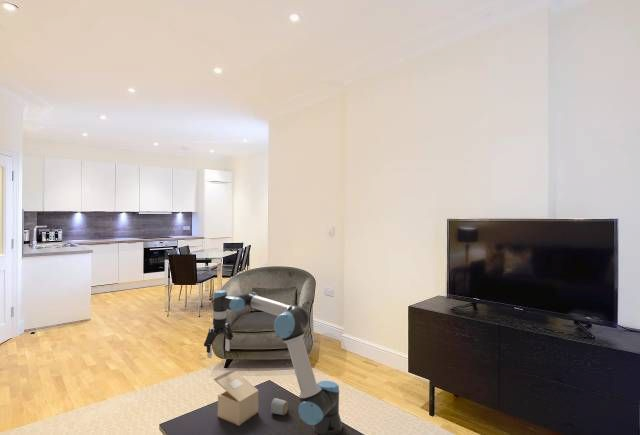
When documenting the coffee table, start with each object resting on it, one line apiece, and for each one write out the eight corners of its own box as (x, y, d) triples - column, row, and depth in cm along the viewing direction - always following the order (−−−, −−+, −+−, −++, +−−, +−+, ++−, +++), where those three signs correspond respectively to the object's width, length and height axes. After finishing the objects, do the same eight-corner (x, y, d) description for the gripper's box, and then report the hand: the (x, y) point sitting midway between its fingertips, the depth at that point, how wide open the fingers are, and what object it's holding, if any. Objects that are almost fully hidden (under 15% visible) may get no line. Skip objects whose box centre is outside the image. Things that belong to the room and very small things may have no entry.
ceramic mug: (283, 418, 193) (284, 404, 193) (270, 415, 195) (270, 401, 195) (290, 408, 203) (291, 395, 203) (277, 406, 205) (278, 393, 205)
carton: (258, 412, 198) (258, 391, 198) (238, 425, 185) (239, 403, 185) (237, 404, 206) (237, 384, 206) (217, 416, 193) (218, 394, 193)
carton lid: (258, 391, 198) (258, 390, 197) (239, 402, 185) (240, 401, 185) (233, 370, 208) (233, 369, 208) (213, 379, 196) (214, 378, 195)
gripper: (230, 312, 217) (229, 346, 217) (197, 321, 196) (196, 359, 196) (239, 314, 213) (238, 348, 213) (207, 324, 192) (205, 362, 192)
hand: (218, 354), depth 205 cm, fingers open, 13 cm apart
